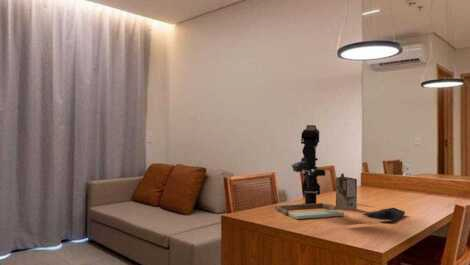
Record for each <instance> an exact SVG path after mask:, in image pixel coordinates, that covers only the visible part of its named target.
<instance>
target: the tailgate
mask: <svg viewBox="0 0 470 265" xmlns="http://www.w3.org/2000/svg"><path fill="white" fill-rule="evenodd" d="M288 216H289V217H291V218H294V219H296V220H300V219H325V218H329V217H341V216H343V217H344V216H345V212H343V211H339V210H337V209H336V210H326V209H323V210H313V211H311V210H309V211H308V210H307V211H295V212H288Z"/></svg>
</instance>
